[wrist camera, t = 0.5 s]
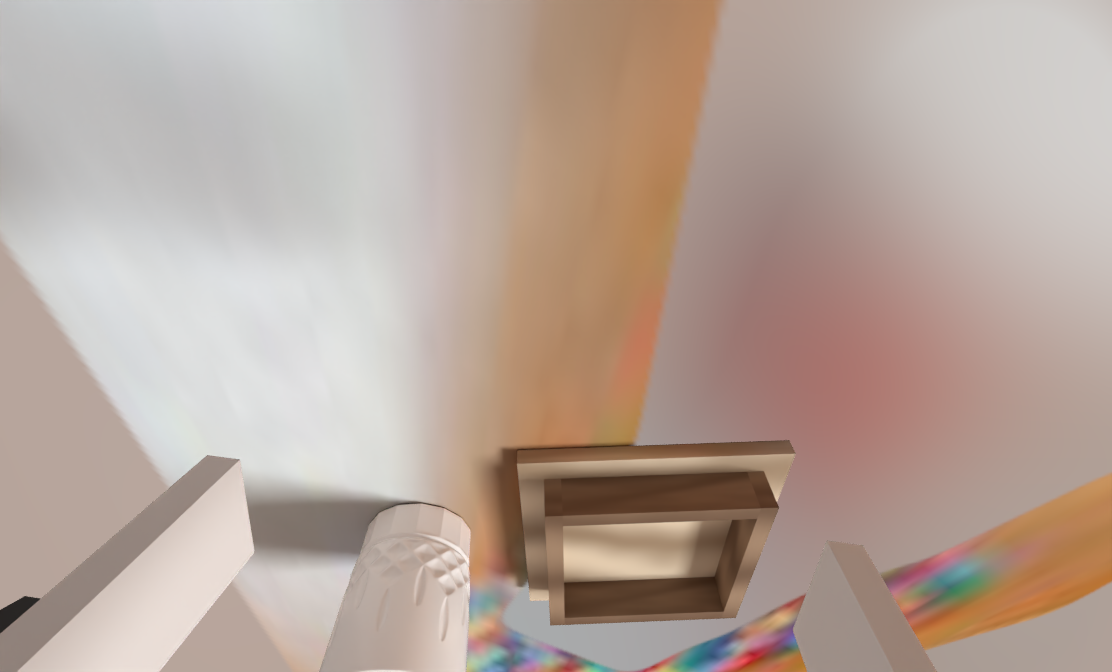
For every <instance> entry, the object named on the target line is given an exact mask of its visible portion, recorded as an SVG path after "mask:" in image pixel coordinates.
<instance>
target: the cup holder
mask: <svg viewBox="0 0 1112 672" xmlns="http://www.w3.org/2000/svg"><path fill="white" fill-rule="evenodd" d="M795 454H796V453H795V452H794V450H793V447H792V445H791V443H790V441H789V440H786V441H785V440H784V441H758V442H731V443H703V444H702V443H701V444H675V445H649V446H648V445H646V446H618V447H591V448H563V449H535V450H517V470H518V480H519V490H520V501H521V511H522V521H523V532H524V542H525V552H526V562H527V573H528V583H529V593H530V601H538V600H539V601H541V600H549V608H550V625H571V624H594V623H595V624H596V623H621V622H645V621H670V620H695V619H719V618H736V615H737V613H738V610H739V608H740V605H741V603H742V600H743V598H744V595H745V592H746V590H747V588H748V585H749V582H750V580H751V577H752V575H753V572H754V570H755V567H756V565H757V562H758V560H759V557H760V555H761V552H762V549H763V547H764V545H765V542H766V539H767V537H768V534H769V532H770V529H771V527H772V524H773V522H774V519H775V517H776V514H777V512H778V509H779V506H778V504H777V500H778V498H779V495H780V493H781V490H782V488H783V485H784V482H785V480H786V477H787V475H788V472H789V469H790V467H791V464H792V461H793V459H794V456H795Z"/></svg>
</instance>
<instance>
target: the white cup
mask: <svg viewBox="0 0 1112 672" xmlns="http://www.w3.org/2000/svg"><path fill="white" fill-rule="evenodd" d="M470 535H471V531H470V529H469V528H468V526H467V525H466V523H465V522H464V520H463V519H462V518H461V517H459V516H458V515H456V514H454V513H452V512H451V511H449V510H447V509H445V508H442V507H437V506H433V505H427V504H422V503H419V504H404V505H396V506H394V507H391V508H389V509H386V510H384V511H381V512H379V513H378V515H377V516H376V517H375V518H374V519H373V521H372V522H371V523H370V524H369V527H368V530H367V533H366V536H365V539H364V543H363V546H362V549H361V552H360V556H359V558H358V560H357V562H356V564H355V566H354V569H353V571H352V574H351V577H350V581H349V585H348V587H347V589H346V592H345V594H344V597H343V600H342V603H341V606H340V609H339V612H338V615H337V618H336V621H335V624H334V627H333V630H332V633H331V637H330V640H329V643H328V646H327V649H326V652H325V655H324V658H323V661H322V664H321V667H320V670H319V672H466V667H467V647H468V630H469V600H470V572H469V550H470Z"/></svg>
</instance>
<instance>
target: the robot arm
mask: <svg viewBox="0 0 1112 672" xmlns="http://www.w3.org/2000/svg"><path fill="white" fill-rule="evenodd" d="M254 552H255V551H254V545H253V539H252V533H251V526H250V520H249V514H248V507H247V501H246V495H245V489H244V482H243V476H242V470H241V463H240V460H238V459H231V458H224V457H217V456H209V455H207V456H206V457H205V458H203V459H202V460H201V461H200V462H199V463H198V464H197V465H195V466H194V467H193V468H192V469H191V470H190V471H188V472H187V473H186V474H185V475H184V476H183V477H181V478H180V479H179V480H178V481H177V482H176V483H174V484H173V485H172V486H171V487H170V488H169V489H168V490H166V491H165V492H164V493H163V494H162V495H161V496H160V497H158V498H157V499H156V500H155V501H154V502H152V503H151V504H150V505H149V506H148V507H147V508H146V509H144V510H143V511H142V512H141V513H140V514H139V515H137V516H136V517H135V518H134V519H133V520H132V521H130V522H129V523H128V524H127V525H126V526H125V527H124V528H122V529H121V530H120V531H119V532H118V533H117V534H116V535H114V536H113V537H112V538H111V539H110V540H108V541H107V542H106V543H105V544H104V545H103V546H101V547H100V548H99V549H98V550H97V551H96V552H94V553H93V554H92V555H91V556H90V557H89V558H87V559H86V560H85V561H84V562H83V563H82V564H81V565H80V566H78V567H77V568H76V569H75V570H74V571H72V572H71V573H70V574H69V575H68V576H67V577H65V578H64V579H63V580H62V581H61V582H60V583H58V584H57V585H56V586H55V587H54V588H53V589H51V590H50V591H49V592H48V593H47V594H46V595H45V596H43V597H42V598H41V599H40V598H33V597H27V596H24V597H23V598H21V599H19V600H17V601H16V602H14V603H12V604H10V605H8V606H7V607H5V608H3V609H1V610H0V672H159V671H160V670H161V669H162V667H163V666H164V665H165V664H166V662H167V661H168V660H169V659H170V657H171V656H172V655H173V654H174V652H175V651H176V650H177V648H178V647H179V646H180V645H181V644H182V642H183V641H184V640H185V639H186V637H187V636H188V635H189V634H190V632H191V631H192V630H193V629H194V627H195V626H196V625H197V623H198V622H199V621H200V620H201V618H202V617H203V616H204V615H205V614H206V612H207V611H208V610H209V609H210V607H211V606H212V605H213V604H214V602H215V601H216V600H217V598H218V597H219V596H220V595H221V594H222V592H223V591H224V590H225V588H226V587H227V586H228V585H229V584H230V582H231V581H232V580H233V579H234V577H235V576H236V575H237V574H238V572H239V571H240V570H241V569H242V567H243V566H244V565H245V564H246V562H247V561H248V560H249V559H250V557H251V556H252V555H253V554H254ZM793 632H794V635H795V638H796V641H797V644H798V646H799V649H800V652H801V655H802V658H803V660H804V663H805V666H806V669H807V672H937V671H936V669H935V667H934V666H933V664H932V662H931V661H930V659H929V657H928V656H927V654H926V652H925V650H924V649H923V647H922V645H921V644H920V642H919V640H918V638H917V637H916V635H915V633H914V632H913V630H912V628H911V627H910V625H909V623H908V621H907V620H906V618H905V616H904V615H903V613H902V611H901V609H900V608H899V606H898V604H897V603H896V601H895V599H894V598H893V596H892V594H891V592H890V591H889V589H888V587H887V586H886V584H885V582H884V581H883V579H882V577H881V575H880V574H879V572H878V570H877V569H876V567H875V565H874V564H873V562H872V560H871V559H870V557H869V555H868V554H867V552H866V550H865V548H864V547H863V545H856V544H848V543H841V542H834V541H827V542H826V544H825V547H824V549H823V552H822V554H821V557H820V560H819V562H818V565H817V568H816V571H815V573H814V575H813V578H812V581H811V583H810V586H809V589H808V591H807V594H806V596H805V599H804V602H803V604H802V607H801V610H800V612H799V615H798V617H797V620H796V623H795V625H794V628H793Z"/></svg>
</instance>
